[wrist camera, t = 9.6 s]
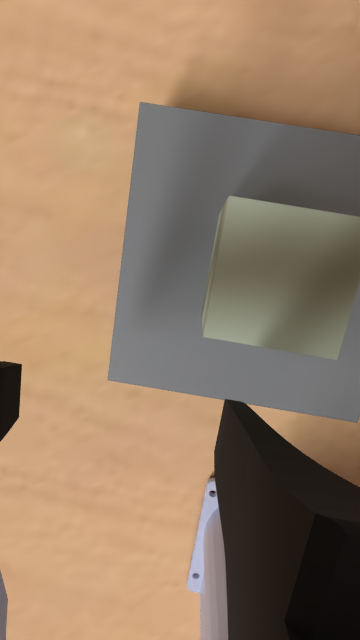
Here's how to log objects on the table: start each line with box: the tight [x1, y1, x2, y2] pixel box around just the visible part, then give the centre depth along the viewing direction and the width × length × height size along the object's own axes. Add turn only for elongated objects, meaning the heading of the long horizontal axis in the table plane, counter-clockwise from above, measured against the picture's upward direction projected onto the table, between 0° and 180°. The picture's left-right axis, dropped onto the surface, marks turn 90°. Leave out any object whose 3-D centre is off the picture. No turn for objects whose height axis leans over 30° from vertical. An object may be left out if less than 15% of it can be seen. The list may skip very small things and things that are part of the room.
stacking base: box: [108, 102, 360, 423], centre depth 18 cm, size 14×14×3 cm
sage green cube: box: [201, 196, 360, 360], centre depth 14 cm, size 5×5×5 cm
